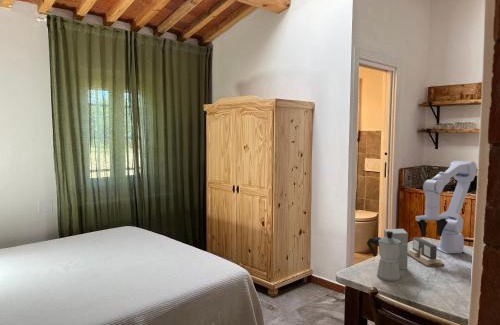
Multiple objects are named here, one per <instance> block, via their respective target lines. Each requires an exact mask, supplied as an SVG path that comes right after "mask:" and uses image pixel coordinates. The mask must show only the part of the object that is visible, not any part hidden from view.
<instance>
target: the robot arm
mask: <svg viewBox="0 0 500 325" xmlns="http://www.w3.org/2000/svg"><path fill="white" fill-rule="evenodd" d="M477 171H478V168H477V163H476V162H475V161H467V160H466V161H463V160H452V162H450V165H449V167H448V168H447V169H446V170H445V171H439V172H438V174H436V175H435V176H433V177H432V178H431V179H427V180H425V181H424V182H423V186H422V189H423V192H424V193H423V194H424V196H425V204H424V205H425V206H424V208H425V209H424V214H423V215H421V214H420V215H415V221H416V224H417V226H418V229H419V230H420V231H419V232H420V236H421V237H423V238H425V237H426V234H427V228H428V224H429V222H426V221H435V223H436V236H438V237H440V238H439V240H440V241H439V247H438V246H437V250H438V251H440V252H442V253H444V254H463V253H462V252H465V251H464V246H465V238H464V235H463V234H462V233H461V232H463V229H464V221H465V220H464V219H463V217H462V216H461V211H462V207H463V205H464V203H465V199H466V196H467V193H468V191H469V189H470V186H471V182H473V181H474V179H475V177H476V174H477ZM451 178H454V179H455V180H456V181H457V183H456V186H455V189H454V192H453V194H452V197H451V200H450V203H449V206H448V209H447V210H446V211H444V212H442V213H440V198H441V193H442V192H443V190H444V188H445V186H446V185H448V184H449V183H450V182H451Z"/></svg>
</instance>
